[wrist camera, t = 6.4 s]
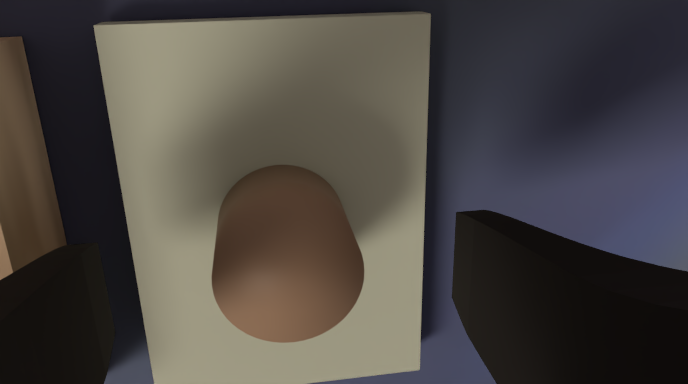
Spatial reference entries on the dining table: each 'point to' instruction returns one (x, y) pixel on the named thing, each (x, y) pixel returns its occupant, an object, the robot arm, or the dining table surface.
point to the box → (23, 168)
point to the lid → (273, 191)
